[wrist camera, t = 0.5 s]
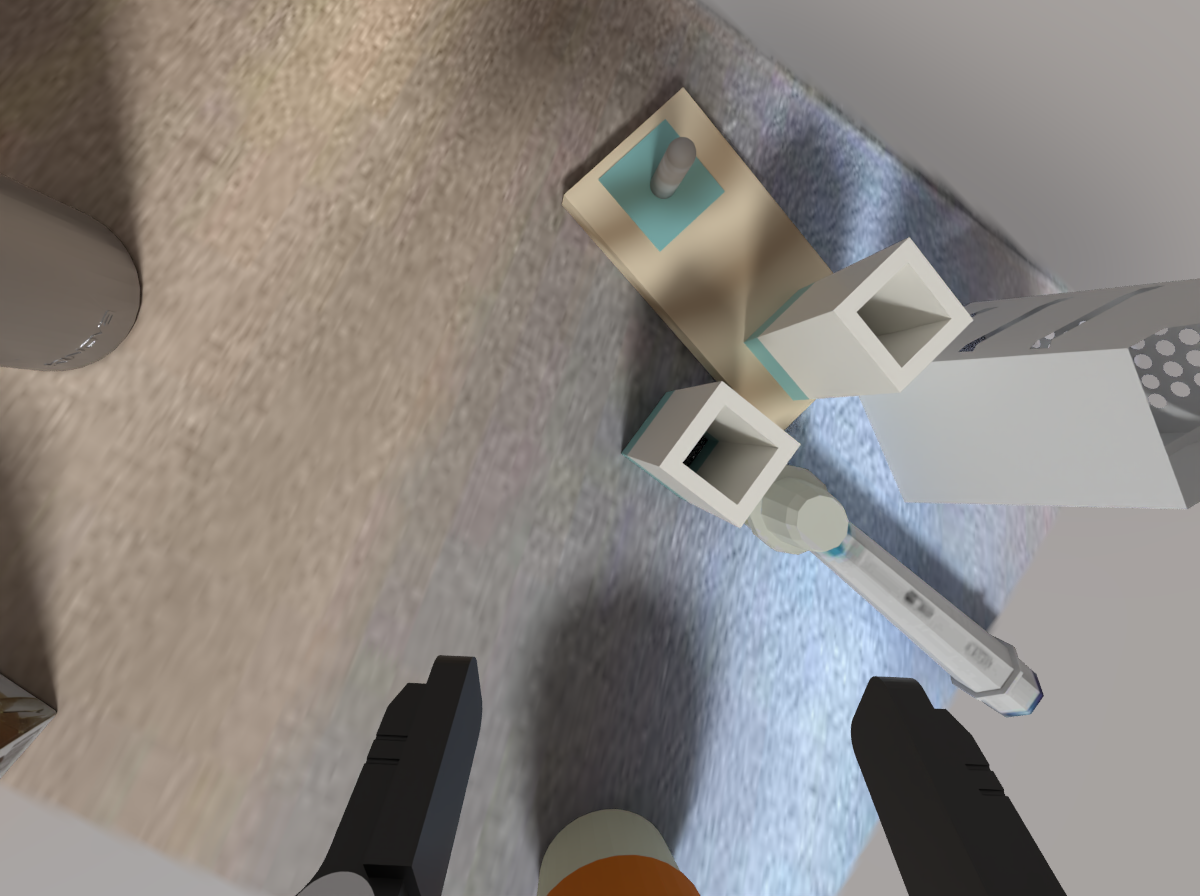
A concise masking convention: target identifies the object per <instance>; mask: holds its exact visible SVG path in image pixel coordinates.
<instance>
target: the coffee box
mask: <svg viewBox="0 0 1200 896" xmlns="http://www.w3.org/2000/svg"><path fill="white" fill-rule="evenodd" d="M55 715H56V711H55V710H54V709H52V708H51V707H49V706H48V705H47V704H45V703H44V702H42V701H40V700H39V699H37V698H36V697H34V696H33V695H31V694H30V693H28V692H27V691H25V690H24V689H22V688H20V687H19V686H17V685H16V684H14V683H13V682H11V681H10V680H8V679H7V678H6V677H4V676H3V675H1V674H0V778H1V777H2V776H3V775H4V774H5V773H6V771H7V770H8V769H9V768H10V767H11V766H12V765H13V763H14V762H15V761H16V760H17V759H18V758H19V757H20V756H21V754H22V753H23V752H24V751H25V750H26V749H27V748H28V747H29V745H30V744H31V743H32V742H33V741H34V740H35V739H36V737H37V736H38V735H39V734H40V733H41V732H42V730H43V729H44V728H45V727H46V726H47V725H48V723H49V722H50V721H51V720H52V719H53V718H54V717H55Z"/></svg>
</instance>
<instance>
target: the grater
mask: <svg viewBox="0 0 1200 896" xmlns="http://www.w3.org/2000/svg"><path fill="white" fill-rule="evenodd" d="M964 308H965V310H966V311H967V312H968V313H969V315H971V314H973V313H976V315H975V316H974V317H972V319H973V321H972V322H971V323H970V324H969V325H968V326H967V327H966V328H965V329H964V330H963V331H962V332H961V333H960V334H959V335H958V336H957V337H956V338H955V339H954V340H953V341H952V342H951V343H950V344H949V345H948V346H947V347H946V348H945V349H944V350H943V351H942V352H941V353H940V354H939V355H938V356H937V357H936V358H935V359H934V360H933V361H932V362H931V363H930V364H929V365H928V366H927V367H926V368H925V369H924V370H923V371H922V372H921V373H920V374H919V375H918V376H917V377H916V378H914V379H913V380H912V381H911V382H910V383H909V384H908V385H907V386H906V387H905V388H904V389H903V390H902V391H901V392H900V393H889V394H875V395H862V396H859V398H860V401H861V403H862V405H863V407H864V410H865V412H866V414H867V417H868V419H869V421H870V424H871V426H872V428H873V431H874V433H875V435H876V437H877V440H878V442H879V444H880V447H881V449H882V451H883V454H884V456H885V458H886V461H887V463H888V465H889V467H890V470H891V472H892V474H893V477H894V479H895V481H896V484H897V486H898V488H899V491H900V493H901V495H902V497H903V500H904V502H905V503H945V504H987V505H1030V506H1075V507H1076V506H1077V507H1117V508H1159V509H1189V508H1190V507H1192V506H1194V505H1195V504H1197V503H1199V502H1200V386H1198V385H1197V384H1196V383H1195V381H1194V376H1195V375H1196V374H1197V373H1200V367H1199V366H1193V365H1192V364H1190V363H1189V362H1188V361H1187V359H1186V354H1187V353H1188V352H1189V351H1192V350H1198V351H1200V341H1199V342H1198V343H1197V344H1195V345H1186V344H1185V343H1183V342H1181V340H1180V339H1179V333H1180V331H1181V330H1183V329H1186V328H1187V329H1193V330H1195V331H1196V332H1197V333H1198V334H1199V335H1200V279H1190V280H1181V281H1172V282H1162V283H1152V284H1143V285H1134V286H1124V287H1115V288H1106V289H1096V290H1086V291H1077V292H1067V293H1058V294H1049V295H1039V296H1030V297H1020V298H1011V299H1001V300H992V301H982V302H973V303H970V304H968V305H966V306H964ZM1082 321H1086V322H1084V323H1082V324H1080V325H1079V323H1080V322H1082ZM1164 328H1168V331H1167V332H1166V333H1165V334H1163V335H1155V333H1156V332H1158V331H1160V330H1162V329H1164ZM1066 331H1067V332H1066ZM1053 332H1054V333H1055V336H1054V338H1053V339H1051V340H1050V339H1046V338H1044V337H1045V336H1047V335H1049V334H1051V333H1053ZM1064 332H1065V333H1064ZM984 335H985V338H986V340H984V341H982V342H980V343H978V344H977V345H976V347H975V349H974V350H973V351H969V352H959V351H960V350H961V349H962V348H963V347H964V346H965V345H967V344H969V343H971V342H972V341H974V340H976V339H978V338H980V337H982V336H984ZM1038 340H1040V344H1041V345H1040V347H1038V348H1033V347H1032V346H1033V345H1034V344H1035V343H1036V342H1037V341H1038ZM1142 340H1144V341H1145V346H1144V347H1143V348H1142V349H1139V350H1137V349H1133V348H1131V346H1133V345H1135V344H1136V343H1138V342H1140V341H1142ZM1161 340H1167V341H1169V342H1171V343H1173V345H1174V346H1175V352H1174V354H1173V355H1169V356H1165V355H1162V354H1160V353H1158V351H1157V350H1156V344H1157V342H1158V341H1161ZM1049 344H1050V347H1049V348H1048V346H1049ZM1139 354H1144V355H1146V356H1148V357H1150V359H1151V360H1152V366H1151V367H1150V368H1148V369H1142V368H1140V367H1138V366H1137V365H1136V364H1135V362H1134V358H1135V356H1136V355H1139ZM1169 361H1172V362H1176V363H1178V364H1180V365H1181V367H1182V368H1183V373H1182V374H1181V376H1178V377H1173V376H1169V375H1168V374H1166V373H1165V371H1164V370H1163V365H1164V364H1165V363H1166V362H1169ZM1147 374H1149V375H1153V376H1155V377H1157V379H1158V380H1159V382H1160V385H1159V387H1158V388H1156V389H1150V388H1147V387H1145V386H1144V385H1143V383H1142V380H1141V378H1142V377H1143V375H1147ZM1177 381H1178V382H1183V383H1185V384H1186V385H1188V387H1189V388H1190V394H1189V395H1188V396H1186V397H1180V396H1177V395H1175V394H1174V393H1173V392H1172V391H1171V388H1170V385H1171V384H1172V383H1173V382H1177ZM1154 393H1155V394H1160V395H1161V396H1163V397H1164V398H1165V399H1166V401H1167V405H1166V406H1165V407H1164V408H1156V407H1154V406H1153V405H1151V404H1150V402H1149V400H1148V397H1149V396H1150V395H1151V394H1154Z"/></svg>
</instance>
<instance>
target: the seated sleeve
mask: <svg viewBox="0 0 1200 896" xmlns="http://www.w3.org/2000/svg"><path fill="white" fill-rule="evenodd" d="M972 321H973V319H972V317H971V316H970V315H969V313H968V312H967V311H966V310H965V308H964V307H963V306H962V304H961V303H960V302H959V300H958V299H957V298H956V297H955V295H954V294H953V293H952V291H951V290H950V289H949V288H948V286H947V285H946V284H945V282H944V281H943V280H942V278H941V277H940V276H939V275H938V273H937V272H936V271H935V269H934V268H933V267H932V266H931V264H930V263H929V262H928V260H927V259H926V258H925V257H924V255H923V254H922V253H921V251H920V250H919V249H918V247H917V246H916V245H915V244H914V242H913V241H912V240H911V238H910V237H909V238H906V239H904V240H902V241H900V242H898V243H896V244H894V245H892V246H890V247H888V248H885V249H883V250H881V251H879V252H877V253H875V254H873V255H871V256H869V257H867V258H865V259H862V260H860V261H858V262H856V263H854V264H852V265H850V266H848V267H846V268H844V269H842V270H839V271H837V272H835V273H833V274H831V275H829V276H827V277H825V278H823V279H821V280H818V281H816V282H814V283H812V284H810V285H808V286H806V287H804V288H802V289H800V290H798V291H797V292H796V293H795V294H794V295H793V296H792V297H791V298H790V299H789V300H788V301H787V302H786V303H785V304H783V305H782V306H781V307H780V308H779V309H778V310H777V311H776V312H775V313H774V314H773V315H772V316H771V317H770V318H769V319H768V320H767V321H766V322H765V323H764V324H763V325H762V326H760V327H759V328H758V329H757V330H756V331H755V332H754V333H753V334H752V335H751V336H750V337H749V338H748V339H747V340H746V341H745V342H744V344H745V345H746V346H747V347H748V348H749V349H750V351H751V352H752V353H753V354H754V355H755V356H756V358H757V359H758V360H759V361H760V362H761V363H762V365H763V366H764V367H765V368H766V369H767V370H768V372H769V373H770V374H771V375H772V376H773V377H774V379H775V380H776V381H777V382H778V383H779V384H780V386H781V387H782V388H783V389H784V390H785V392H786V393H787V394H788V395H789V396H790V397H791V399H792V400H793V401H794V400H807V399H821V398H835V397H848V396H862V395H875V394H889V393H900V392H901V391H902V390H903V389H904V388H905V387H906V386H907V385H908V384H909V383H910V382H911V381H912V380H913V379H914V378H916V377H917V376H918V375H919V374H920V373H921V372H922V371H923V370H924V369H925V368H926V367H927V366H928V365H929V364H930V363H931V362H932V361H933V360H934V359H935V358H936V357H937V356H938V355H939V354H940V353H941V352H942V351H943V350H944V349H945V348H946V347H947V346H948V345H949V344H950V343H951V342H952V341H953V340H954V339H955V338H956V337H957V336H958V335H959V334H960V333H961V332H962V331H963V330H964V329H965V328H966V327H967V326H968V325H969V324H970V323H971V322H972Z"/></svg>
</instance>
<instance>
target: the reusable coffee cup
mask: <svg viewBox="0 0 1200 896" xmlns="http://www.w3.org/2000/svg"><path fill="white" fill-rule="evenodd" d="M537 896H700V894H699V893H698V891H697V889H696V888H695V886H694V884H693V883H692V882H691V881H690V880H689V879H688V878H687V877H686V876H685V875H684V874H683V873H682V872H680V870H679V868H678V866H677V864H676V862H675V860H674V858H673V856H672V854H671V852H670V850H669V848H668V846H667V845H666V843H665V841H664V839H663V837H662V836H661V834H660V832H659V831H658V830H657V829H656V828H655V827H654V826H653V824H652V823H651V822H649V821H648V820H646V819H645V818H643V817H642V816H640V815H638V814H635V813H632V812H630V811H625V810H619V809H604V810H599V811H595V812H591V813H588V814H586V815H584V816H581V817H579V818H577V819H576V820H574V821H573V822H571V823H570V824H568V825H567V826H566V827H565V828H564V829H563V830H561V831H560V832H559V833H558V834H557V836H556V837H555V838H554V840H553V841H552V842H551V844H550V845H549V847H548V849H547V851H546V853H545V855H544V857H543V861H542V864H541V868H540V874H539V883H538V891H537Z"/></svg>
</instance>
